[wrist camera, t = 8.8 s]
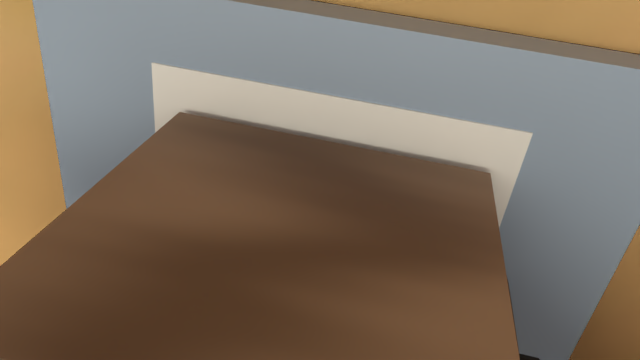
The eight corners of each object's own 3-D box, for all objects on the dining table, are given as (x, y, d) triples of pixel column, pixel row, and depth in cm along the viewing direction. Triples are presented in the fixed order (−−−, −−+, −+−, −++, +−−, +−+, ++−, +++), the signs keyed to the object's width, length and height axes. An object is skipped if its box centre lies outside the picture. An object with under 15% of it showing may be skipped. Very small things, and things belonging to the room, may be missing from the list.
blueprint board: (689, 62, 9) (715, 83, 8) (516, 416, 14) (520, 452, 14) (59, -41, 11) (24, -34, 10) (107, 315, 16) (87, 342, 15)
